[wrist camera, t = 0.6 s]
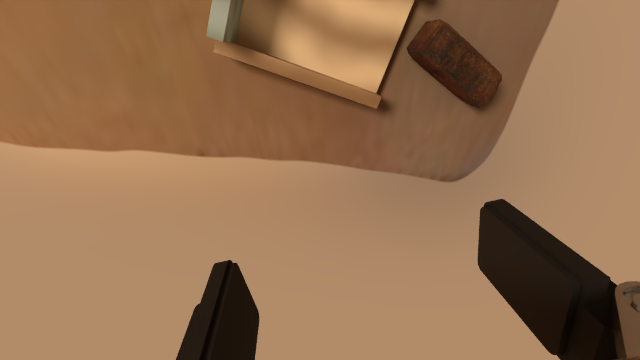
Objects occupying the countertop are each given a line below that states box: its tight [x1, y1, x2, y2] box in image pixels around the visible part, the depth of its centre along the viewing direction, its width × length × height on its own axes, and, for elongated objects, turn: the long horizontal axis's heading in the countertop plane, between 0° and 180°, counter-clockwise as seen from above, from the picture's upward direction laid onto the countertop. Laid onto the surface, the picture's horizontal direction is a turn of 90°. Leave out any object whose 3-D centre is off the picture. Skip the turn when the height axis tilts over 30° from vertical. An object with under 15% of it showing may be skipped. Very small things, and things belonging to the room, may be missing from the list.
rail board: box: [206, 0, 414, 109], centre depth 28 cm, size 13×18×7 cm
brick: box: [407, 19, 502, 107], centre depth 33 cm, size 11×4×5 cm, turn 56°
